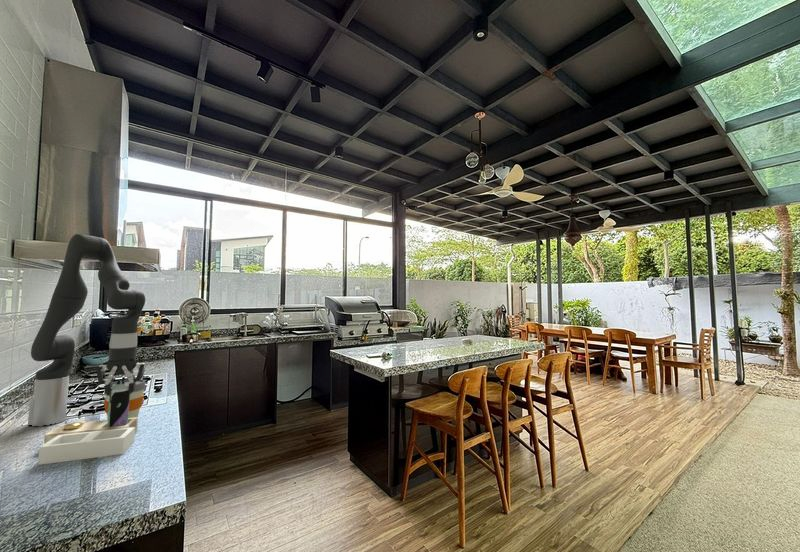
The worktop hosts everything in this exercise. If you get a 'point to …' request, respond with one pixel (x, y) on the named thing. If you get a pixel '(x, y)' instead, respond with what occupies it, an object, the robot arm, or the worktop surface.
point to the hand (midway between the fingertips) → (119, 394)
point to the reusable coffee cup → (131, 399)
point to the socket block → (89, 428)
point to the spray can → (118, 404)
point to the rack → (86, 445)
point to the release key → (73, 426)
